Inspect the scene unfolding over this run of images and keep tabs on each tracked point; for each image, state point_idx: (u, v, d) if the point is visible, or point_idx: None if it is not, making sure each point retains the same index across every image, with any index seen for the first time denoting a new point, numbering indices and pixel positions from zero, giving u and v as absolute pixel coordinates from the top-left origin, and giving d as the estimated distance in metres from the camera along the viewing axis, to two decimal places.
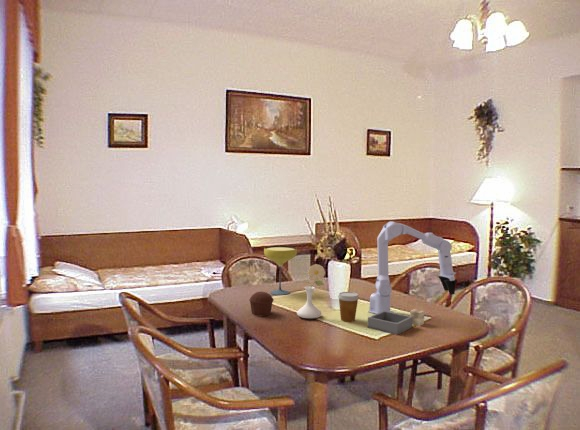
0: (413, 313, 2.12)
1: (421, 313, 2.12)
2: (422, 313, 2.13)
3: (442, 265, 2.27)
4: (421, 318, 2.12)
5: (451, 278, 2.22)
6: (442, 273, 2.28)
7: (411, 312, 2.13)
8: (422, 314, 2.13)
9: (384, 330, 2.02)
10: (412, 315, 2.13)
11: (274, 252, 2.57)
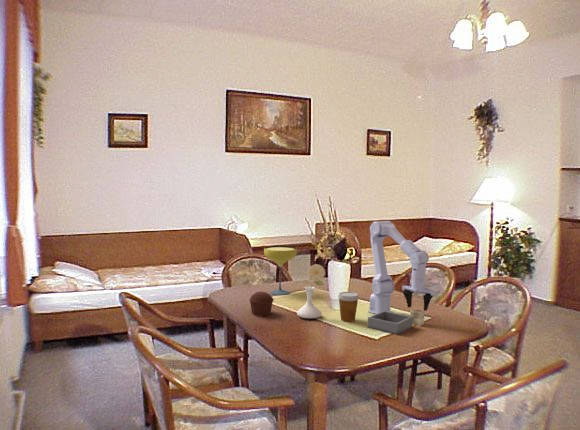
0: (413, 313, 2.12)
1: (421, 313, 2.12)
2: (422, 313, 2.13)
3: None
4: (421, 318, 2.12)
5: None
6: None
7: (411, 312, 2.13)
8: (422, 314, 2.13)
9: (384, 330, 2.02)
10: (412, 315, 2.13)
11: (274, 252, 2.57)
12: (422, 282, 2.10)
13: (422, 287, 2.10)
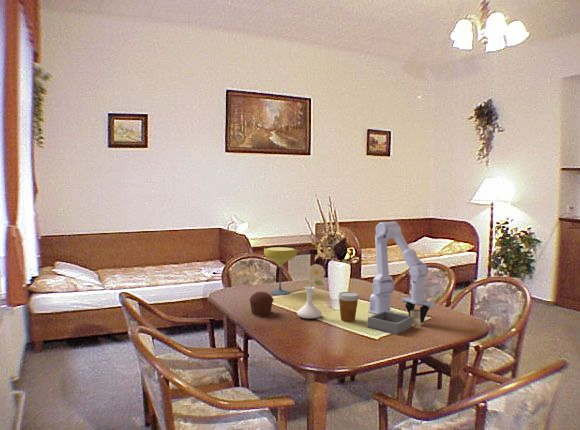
0: (413, 313, 2.12)
1: None
2: None
3: None
4: None
5: None
6: None
7: (411, 312, 2.13)
8: None
9: (384, 330, 2.02)
10: (412, 315, 2.13)
11: (274, 252, 2.57)
12: (422, 294, 2.10)
13: (422, 299, 2.10)
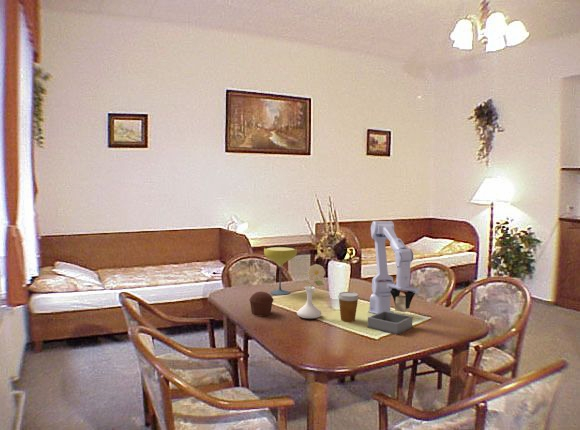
0: (398, 299, 2.09)
1: None
2: None
3: None
4: None
5: None
6: None
7: (396, 298, 2.09)
8: None
9: (384, 330, 2.02)
10: (397, 301, 2.09)
11: (274, 252, 2.57)
12: (407, 280, 2.07)
13: (407, 285, 2.07)
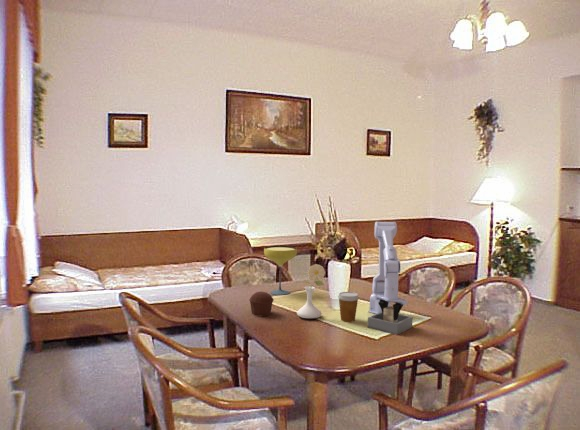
0: (386, 310, 2.07)
1: None
2: None
3: None
4: None
5: None
6: None
7: (384, 309, 2.07)
8: None
9: (384, 330, 2.02)
10: (385, 312, 2.07)
11: (274, 252, 2.57)
12: (395, 291, 2.05)
13: (395, 296, 2.05)
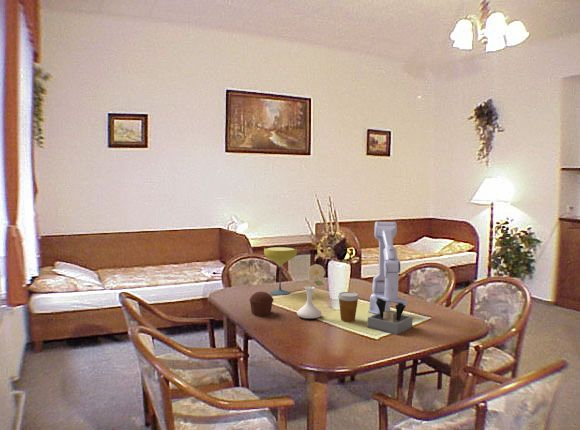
0: (386, 314, 2.07)
1: (394, 314, 2.06)
2: (395, 314, 2.07)
3: None
4: (394, 320, 2.07)
5: None
6: None
7: (384, 313, 2.08)
8: (395, 315, 2.07)
9: (384, 330, 2.02)
10: (385, 316, 2.07)
11: (274, 252, 2.57)
12: (395, 291, 2.05)
13: (395, 296, 2.05)
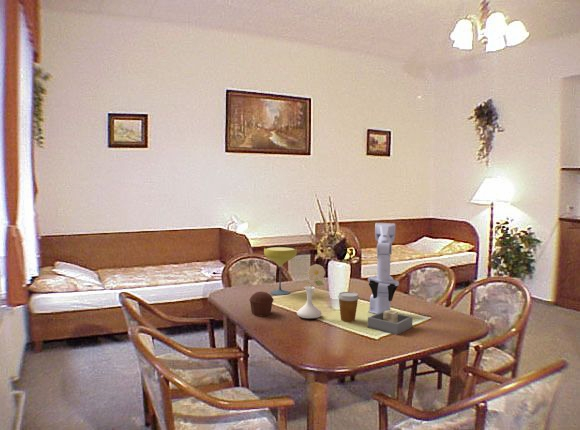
0: (386, 314, 2.07)
1: (394, 314, 2.06)
2: (395, 314, 2.07)
3: None
4: (394, 320, 2.07)
5: None
6: None
7: (384, 313, 2.08)
8: (395, 315, 2.07)
9: (384, 330, 2.02)
10: (385, 316, 2.07)
11: (274, 252, 2.57)
12: (387, 273, 2.12)
13: (387, 278, 2.12)
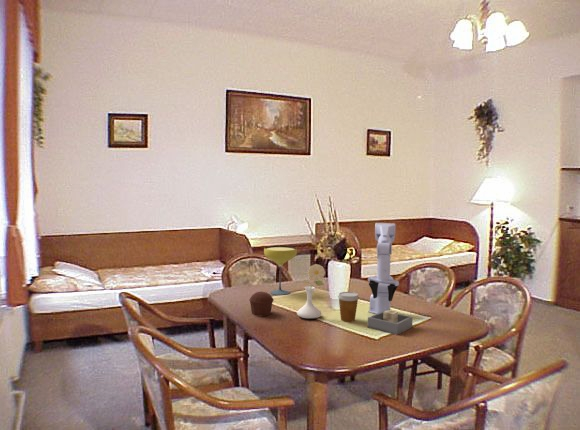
0: (386, 314, 2.07)
1: (394, 314, 2.06)
2: (395, 314, 2.07)
3: None
4: (394, 320, 2.07)
5: None
6: None
7: (384, 313, 2.08)
8: (395, 315, 2.07)
9: (384, 330, 2.02)
10: (385, 316, 2.07)
11: (274, 252, 2.57)
12: (387, 273, 2.12)
13: (387, 278, 2.12)
